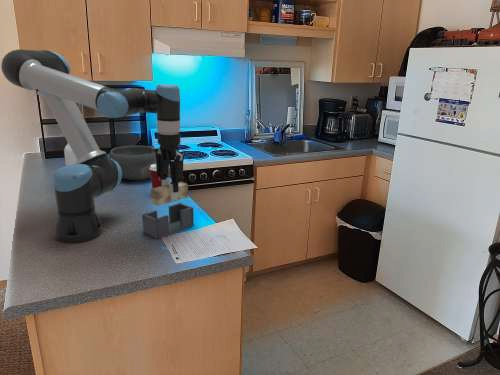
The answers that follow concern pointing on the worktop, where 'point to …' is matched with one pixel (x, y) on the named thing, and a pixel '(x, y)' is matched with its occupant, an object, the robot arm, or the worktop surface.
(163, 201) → the beige mottled block
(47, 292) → the worktop surface
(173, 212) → the end caps
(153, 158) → the bowl
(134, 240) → the worktop surface
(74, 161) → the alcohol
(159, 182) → the paper cup
